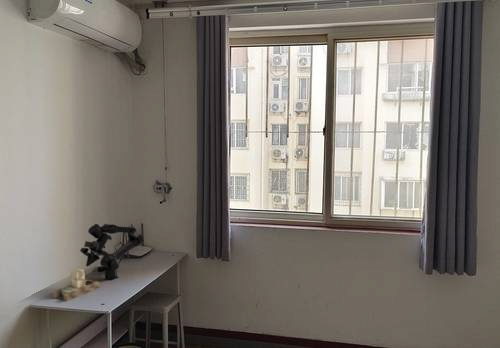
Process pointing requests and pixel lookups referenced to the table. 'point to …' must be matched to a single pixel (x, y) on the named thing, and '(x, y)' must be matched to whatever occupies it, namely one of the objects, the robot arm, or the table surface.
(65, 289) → the trap deck
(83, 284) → the maple block
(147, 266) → the table surface
